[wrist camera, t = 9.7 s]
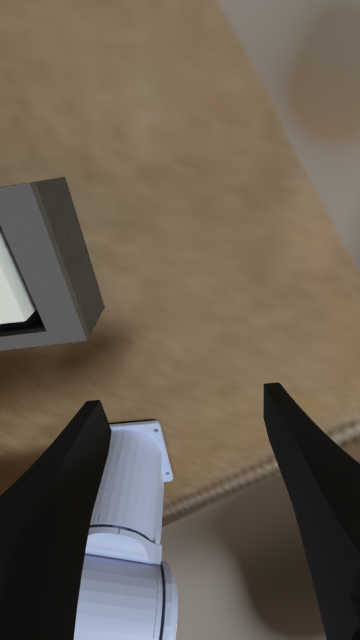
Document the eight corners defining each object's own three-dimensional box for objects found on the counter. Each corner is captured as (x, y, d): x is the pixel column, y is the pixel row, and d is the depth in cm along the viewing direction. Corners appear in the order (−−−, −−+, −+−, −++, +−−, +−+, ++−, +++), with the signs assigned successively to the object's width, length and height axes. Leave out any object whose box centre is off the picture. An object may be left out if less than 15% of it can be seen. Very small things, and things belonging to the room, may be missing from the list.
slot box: (104, 307, 22) (87, 340, 18) (5, 319, 22) (-33, 354, 18) (64, 176, 17) (29, 182, 13) (-57, 196, 18) (-125, 208, 14)
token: (57, 287, 21) (25, 321, 17) (31, 290, 21) (-7, 324, 17) (31, 217, 19) (-14, 235, 14) (2, 221, 19) (-51, 240, 15)
